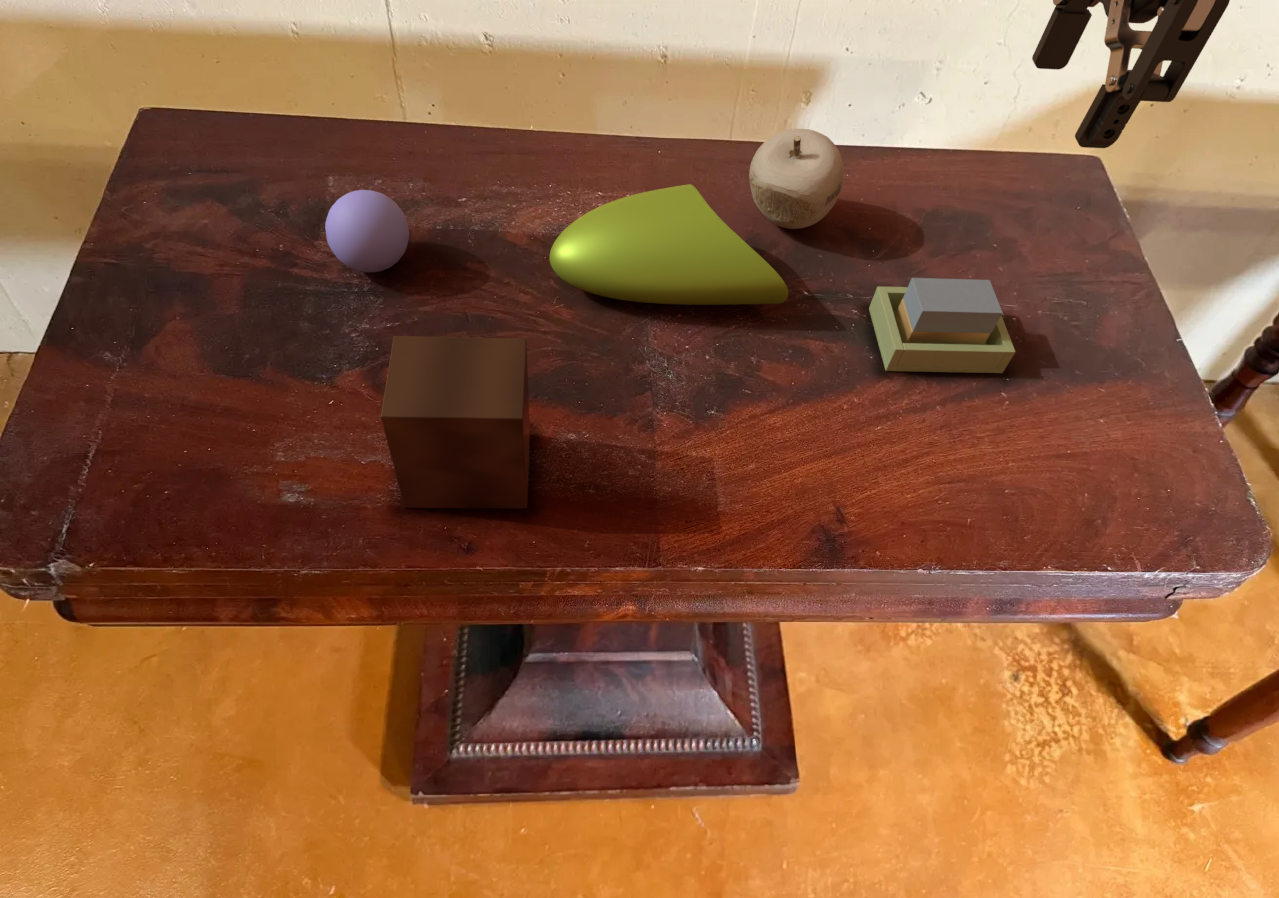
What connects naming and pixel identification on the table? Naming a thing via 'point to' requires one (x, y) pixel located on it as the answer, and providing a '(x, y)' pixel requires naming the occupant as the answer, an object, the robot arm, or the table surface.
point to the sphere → (367, 231)
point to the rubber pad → (952, 305)
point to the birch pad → (933, 333)
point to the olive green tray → (934, 355)
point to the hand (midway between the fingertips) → (1067, 103)
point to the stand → (458, 421)
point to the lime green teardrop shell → (663, 253)
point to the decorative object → (796, 177)
